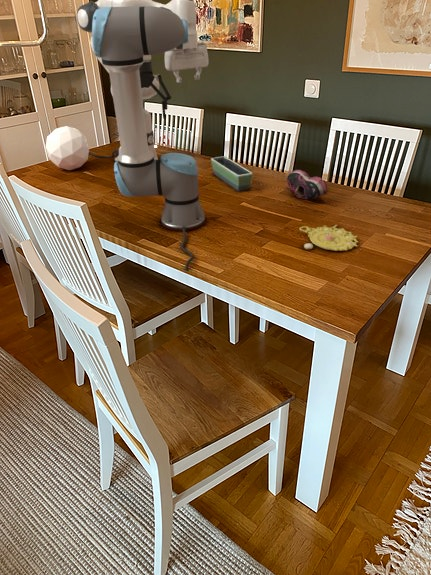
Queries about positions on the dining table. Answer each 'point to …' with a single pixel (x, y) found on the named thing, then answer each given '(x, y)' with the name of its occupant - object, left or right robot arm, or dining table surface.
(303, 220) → the dining table surface
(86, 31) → the left robot arm
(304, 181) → the athletic shoe
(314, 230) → the decorative object
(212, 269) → the dining table surface
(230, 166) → the planter
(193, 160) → the right robot arm
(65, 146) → the sphere
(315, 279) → the dining table surface
